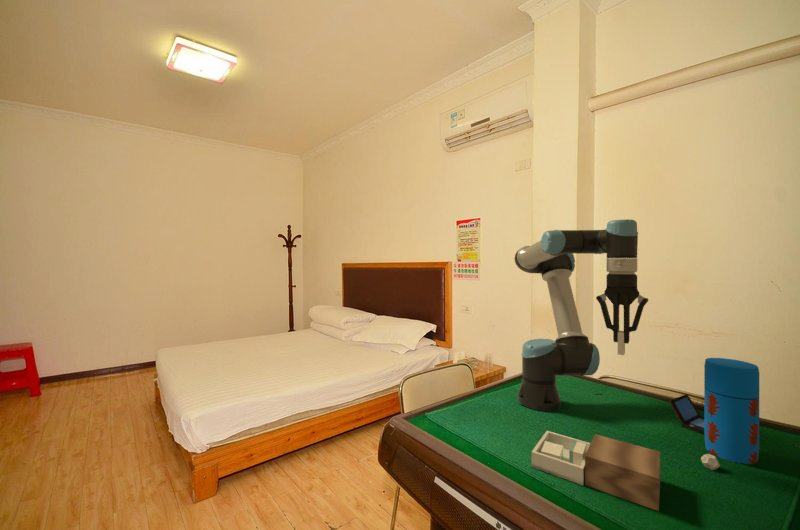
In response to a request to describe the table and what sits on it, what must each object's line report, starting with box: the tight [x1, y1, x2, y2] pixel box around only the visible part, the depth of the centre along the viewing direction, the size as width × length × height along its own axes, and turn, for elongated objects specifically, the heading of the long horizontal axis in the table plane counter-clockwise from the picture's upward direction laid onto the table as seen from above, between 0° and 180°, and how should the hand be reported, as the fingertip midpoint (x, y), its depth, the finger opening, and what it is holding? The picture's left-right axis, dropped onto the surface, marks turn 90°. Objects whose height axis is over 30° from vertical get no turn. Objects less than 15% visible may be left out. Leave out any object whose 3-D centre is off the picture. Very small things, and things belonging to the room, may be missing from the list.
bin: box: [531, 430, 591, 486], centre depth 90 cm, size 12×14×4 cm
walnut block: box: [584, 433, 661, 512], centre depth 82 cm, size 14×13×7 cm
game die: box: [700, 453, 721, 471], centre depth 88 cm, size 4×4×3 cm
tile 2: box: [569, 441, 586, 466], centre depth 88 cm, size 4×6×3 cm
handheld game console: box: [669, 394, 704, 435], centre depth 111 cm, size 12×11×7 cm
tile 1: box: [541, 441, 563, 460], centre depth 91 cm, size 4×6×3 cm
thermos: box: [703, 357, 760, 465], centre depth 94 cm, size 11×11×25 cm
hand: (621, 353), depth 100 cm, fingers closed
